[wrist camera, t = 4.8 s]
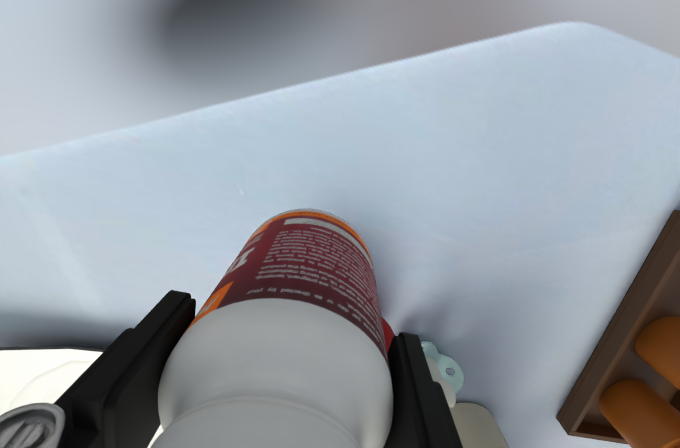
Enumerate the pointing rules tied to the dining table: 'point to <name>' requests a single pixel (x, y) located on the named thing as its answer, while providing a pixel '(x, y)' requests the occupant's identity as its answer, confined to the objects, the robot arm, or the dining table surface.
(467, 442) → the travel mug
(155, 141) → the dining table surface
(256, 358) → the pill bottle
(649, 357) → the amber bottle middle
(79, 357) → the plate
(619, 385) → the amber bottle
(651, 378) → the tray
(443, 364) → the pacifier
